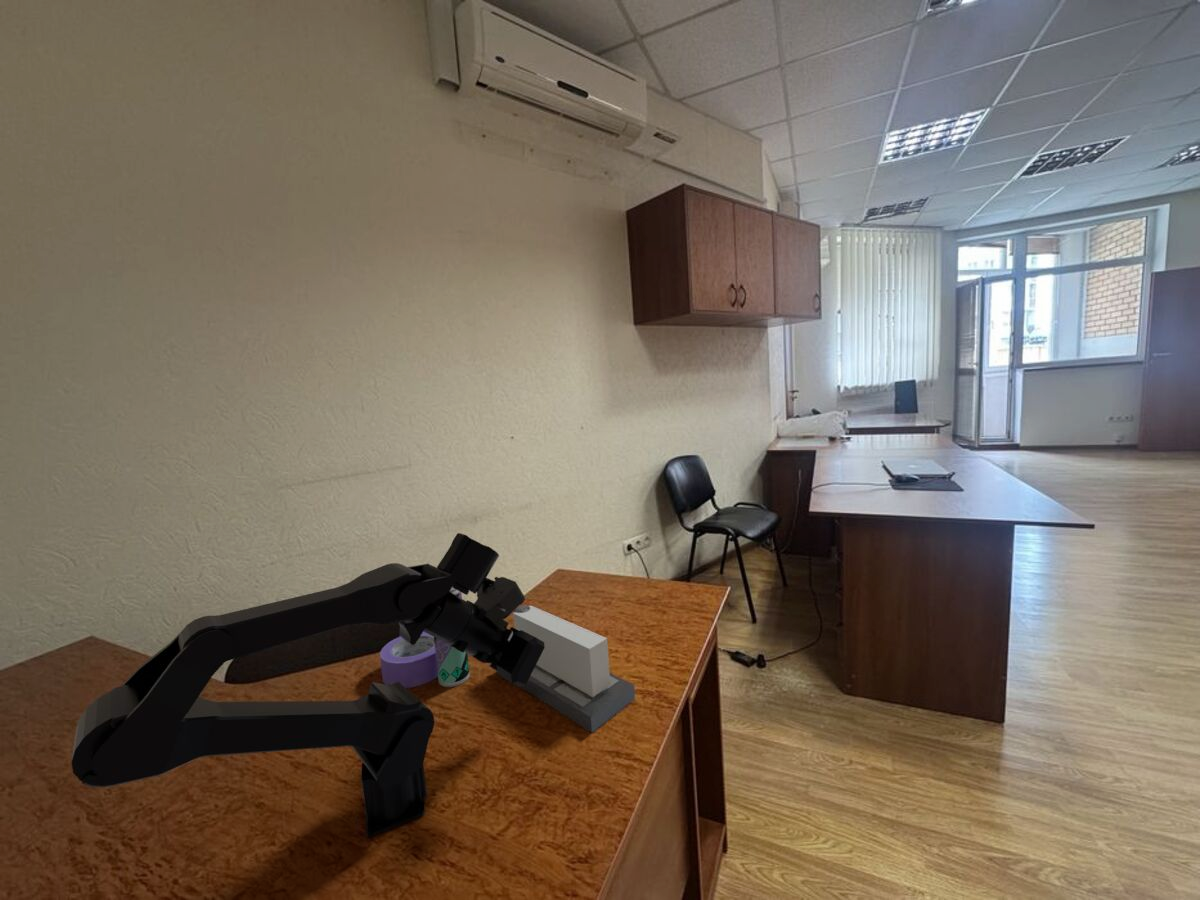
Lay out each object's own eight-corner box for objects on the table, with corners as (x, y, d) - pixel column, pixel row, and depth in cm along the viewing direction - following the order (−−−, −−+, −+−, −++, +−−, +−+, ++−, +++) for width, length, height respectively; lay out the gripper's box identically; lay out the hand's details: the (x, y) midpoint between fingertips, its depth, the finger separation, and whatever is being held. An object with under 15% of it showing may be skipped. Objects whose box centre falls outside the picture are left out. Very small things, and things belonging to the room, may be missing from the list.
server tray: (592, 732, 70) (590, 716, 69) (497, 671, 87) (495, 658, 87) (634, 699, 77) (634, 683, 76) (539, 648, 94) (538, 636, 94)
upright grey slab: (512, 651, 88) (508, 611, 87) (529, 642, 91) (525, 603, 90) (592, 697, 73) (589, 649, 72) (610, 684, 76) (607, 638, 75)
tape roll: (458, 653, 95) (455, 630, 94) (431, 689, 83) (428, 662, 83) (403, 653, 96) (400, 630, 95) (369, 689, 84) (366, 662, 84)
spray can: (432, 682, 85) (420, 577, 82) (454, 666, 90) (443, 566, 87) (454, 690, 82) (442, 581, 80) (476, 673, 87) (465, 569, 85)
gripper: (527, 583, 61) (592, 629, 70) (455, 556, 74) (518, 597, 83) (479, 668, 56) (556, 705, 65) (412, 622, 69) (484, 659, 78)
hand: (527, 660), depth 73 cm, fingers closed
